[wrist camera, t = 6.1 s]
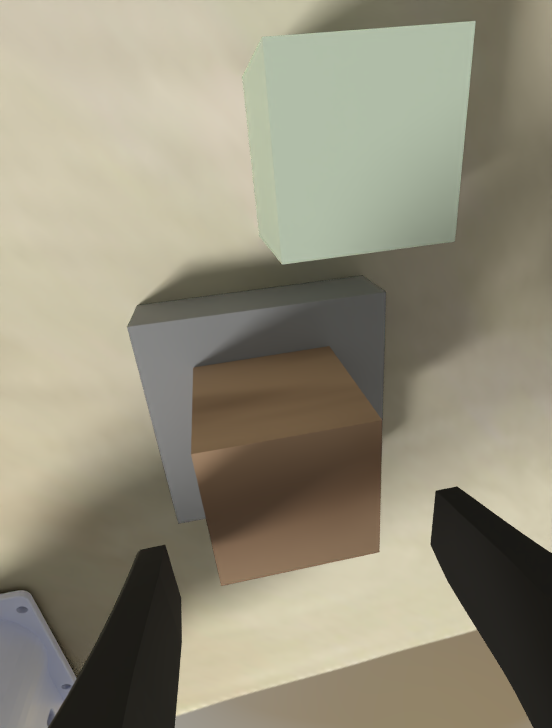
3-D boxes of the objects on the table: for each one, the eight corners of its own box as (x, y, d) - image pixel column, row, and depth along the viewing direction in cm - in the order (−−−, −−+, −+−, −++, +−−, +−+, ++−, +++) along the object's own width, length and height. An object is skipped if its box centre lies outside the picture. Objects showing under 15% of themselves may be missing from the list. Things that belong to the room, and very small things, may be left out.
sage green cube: (385, 219, 16) (455, 241, 12) (259, 235, 16) (282, 264, 11) (389, 64, 14) (475, 21, 10) (241, 77, 14) (261, 36, 9)
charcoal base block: (358, 446, 22) (380, 486, 19) (181, 476, 21) (178, 523, 18) (358, 272, 18) (386, 292, 15) (139, 300, 17) (127, 327, 14)
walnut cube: (333, 454, 18) (379, 552, 13) (215, 476, 17) (221, 585, 13) (329, 346, 16) (382, 420, 11) (192, 367, 15) (191, 454, 11)
